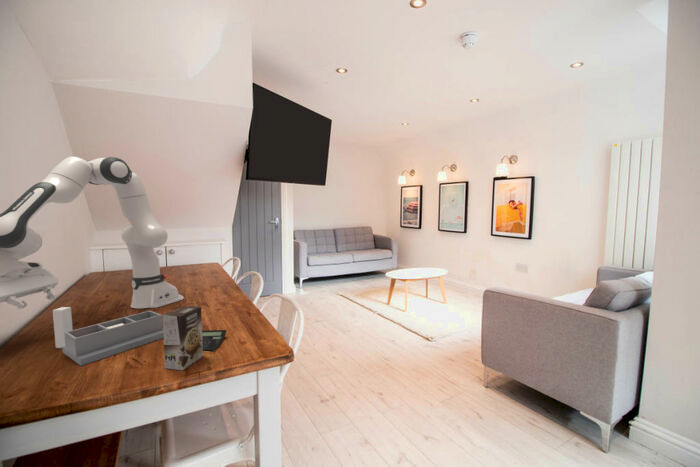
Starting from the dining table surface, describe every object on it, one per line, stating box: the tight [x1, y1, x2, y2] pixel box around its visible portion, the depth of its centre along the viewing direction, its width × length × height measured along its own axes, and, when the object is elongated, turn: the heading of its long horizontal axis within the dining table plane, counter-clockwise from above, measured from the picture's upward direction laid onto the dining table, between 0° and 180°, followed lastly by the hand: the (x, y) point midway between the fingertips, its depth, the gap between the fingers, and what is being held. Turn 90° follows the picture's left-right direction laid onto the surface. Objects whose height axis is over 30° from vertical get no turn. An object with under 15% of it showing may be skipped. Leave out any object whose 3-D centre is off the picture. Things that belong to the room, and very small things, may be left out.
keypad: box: [61, 310, 164, 367], centre depth 107 cm, size 25×16×8 cm, turn 147°
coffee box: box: [162, 305, 204, 371], centre depth 94 cm, size 9×6×16 cm
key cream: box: [106, 323, 125, 329], centre depth 107 cm, size 5×5×2 cm
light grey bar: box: [52, 306, 74, 349], centre depth 106 cm, size 3×3×13 cm
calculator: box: [202, 329, 227, 352], centre depth 107 cm, size 9×12×3 cm
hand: (39, 302), depth 105 cm, fingers open, 8 cm apart
